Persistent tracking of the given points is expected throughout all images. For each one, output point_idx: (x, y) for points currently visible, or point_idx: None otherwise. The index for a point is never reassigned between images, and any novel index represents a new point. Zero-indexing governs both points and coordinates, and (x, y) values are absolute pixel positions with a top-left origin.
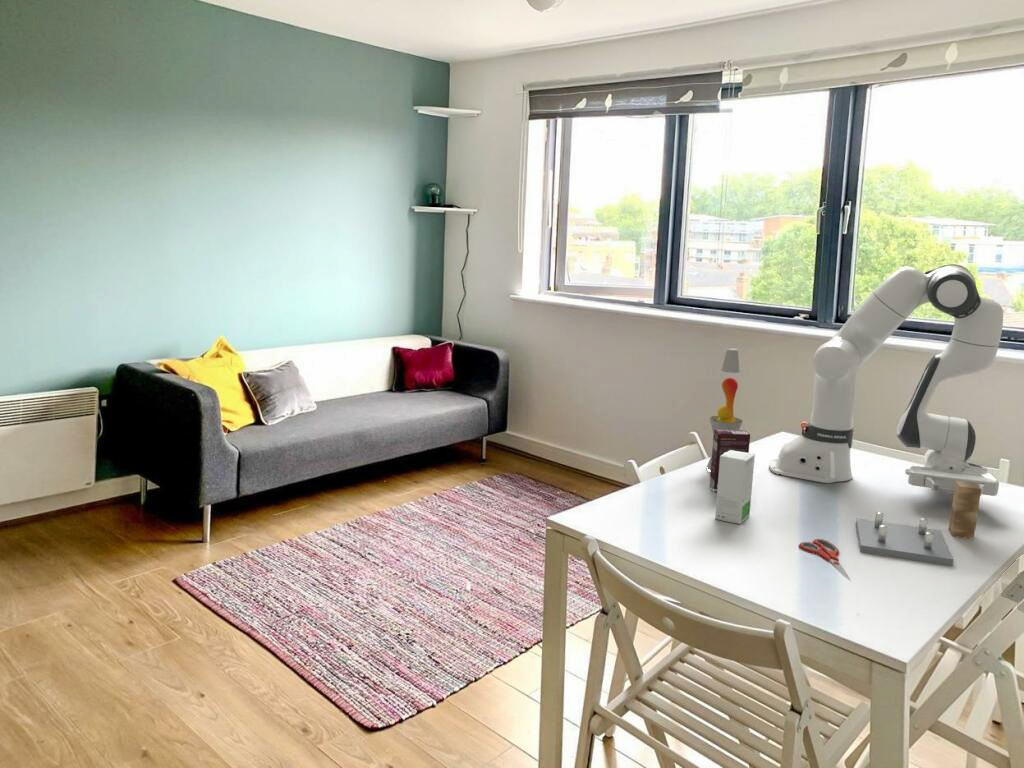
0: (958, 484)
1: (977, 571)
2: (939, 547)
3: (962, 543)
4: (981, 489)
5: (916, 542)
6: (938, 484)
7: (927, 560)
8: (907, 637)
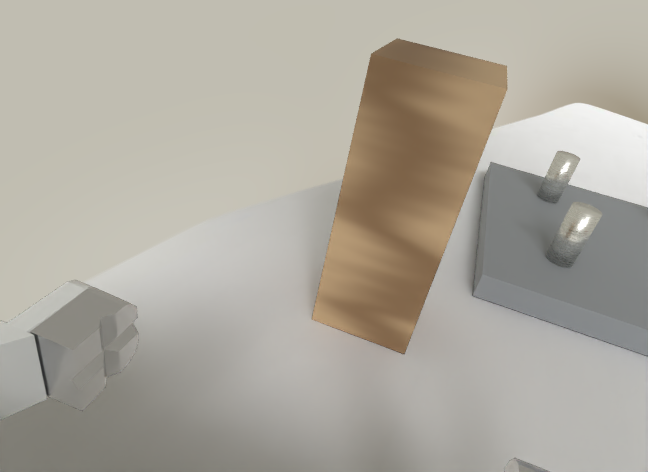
0: (504, 72)
1: None
2: (513, 196)
3: None
4: (78, 281)
5: None
6: (520, 461)
7: None
8: (576, 111)
